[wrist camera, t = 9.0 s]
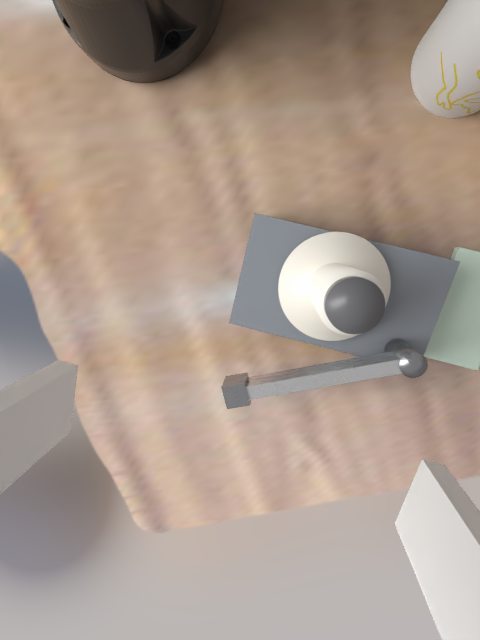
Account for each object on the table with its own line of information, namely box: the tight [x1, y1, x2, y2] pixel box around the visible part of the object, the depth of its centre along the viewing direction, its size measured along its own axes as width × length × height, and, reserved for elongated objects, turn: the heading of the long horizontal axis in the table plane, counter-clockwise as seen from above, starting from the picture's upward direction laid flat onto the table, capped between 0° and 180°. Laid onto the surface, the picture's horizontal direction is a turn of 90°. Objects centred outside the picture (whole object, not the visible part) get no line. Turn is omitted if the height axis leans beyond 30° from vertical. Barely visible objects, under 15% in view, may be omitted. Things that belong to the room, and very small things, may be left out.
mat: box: [424, 247, 480, 370], centre depth 33 cm, size 11×6×1 cm, turn 167°
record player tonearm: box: [221, 339, 427, 409], centre depth 29 cm, size 2×16×4 cm, turn 104°
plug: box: [278, 232, 391, 341], centre depth 27 cm, size 9×9×14 cm
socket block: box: [229, 213, 460, 357], centre depth 32 cm, size 10×18×5 cm, turn 77°
